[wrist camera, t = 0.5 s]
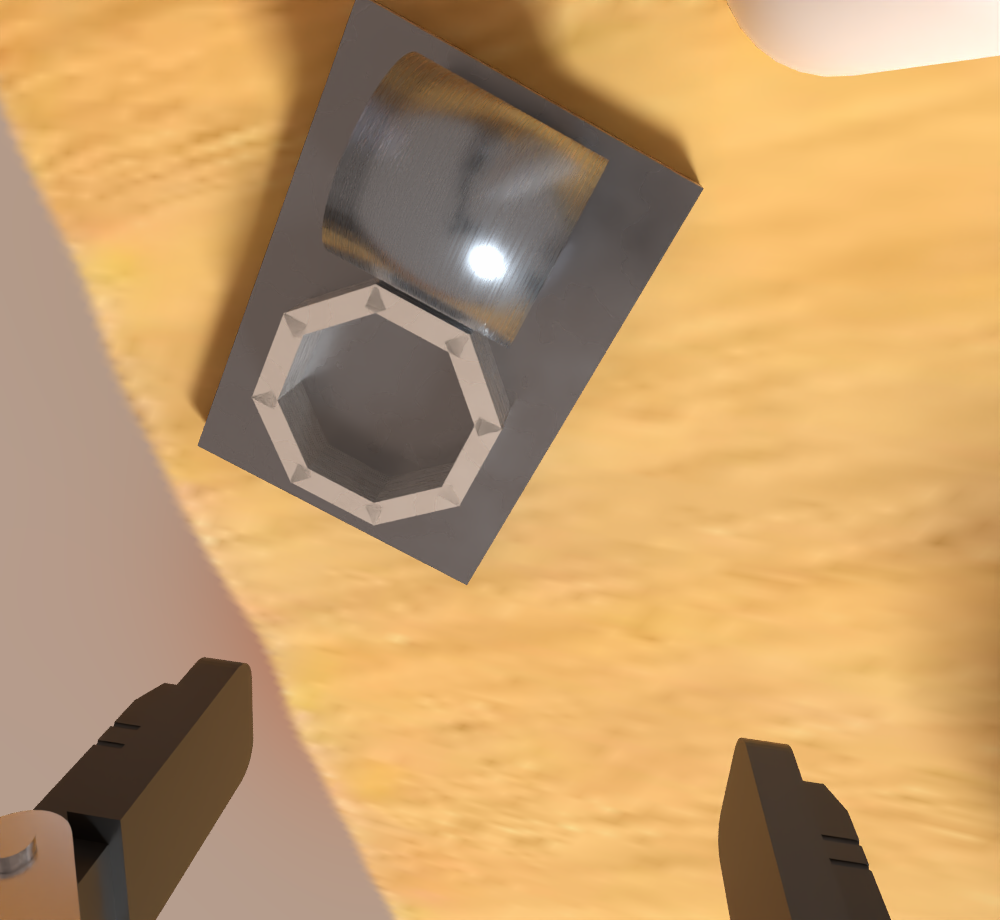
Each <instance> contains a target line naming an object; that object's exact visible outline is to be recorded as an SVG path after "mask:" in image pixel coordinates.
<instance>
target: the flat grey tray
mask: <svg viewBox="0 0 1000 920" xmlns="http://www.w3.org/2000/svg"><path fill="white" fill-rule="evenodd" d="M703 189H704V188H703V187H702V186H701V185H700V184H698V183H696V182H695V181H693V180H691V179H689V178H688V177H686V176H684V175H682V174H680V173H679V172H677V171H675V170H673V169H672V168H670V167H668V166H666V165H664V164H663V163H661V162H659V161H657V160H656V159H654V158H652V157H650V156H649V155H647V154H645V153H643V152H641V151H640V150H638V149H636V148H634V147H633V146H631V145H629V144H627V143H625V142H624V141H622V140H620V139H618V138H617V137H615V136H613V135H611V134H610V133H608V132H606V131H604V130H602V129H601V128H599V127H597V126H595V125H594V124H592V123H590V122H588V121H587V120H585V119H583V118H581V117H579V116H578V115H576V114H574V113H572V112H571V111H569V110H567V109H565V108H563V107H562V106H560V105H558V104H556V103H555V102H553V101H551V100H549V99H548V98H546V97H544V96H542V95H540V94H539V93H537V92H535V91H533V90H532V89H530V88H528V87H526V86H524V85H523V84H521V83H519V82H517V81H516V80H514V79H512V78H510V77H509V76H507V75H505V74H503V73H501V72H500V71H498V70H496V69H494V68H493V67H491V66H489V65H487V64H485V63H484V62H482V61H480V60H478V59H477V58H475V57H473V56H471V55H470V54H468V53H466V52H464V51H462V50H461V49H459V48H457V47H455V46H454V45H452V44H450V43H448V42H447V41H445V40H443V39H441V38H439V37H438V36H436V35H434V34H432V33H431V32H429V31H427V30H425V29H423V28H422V27H420V26H418V25H416V24H415V23H413V22H411V21H409V20H408V19H406V18H404V17H402V16H400V15H399V14H397V13H395V12H393V11H392V10H390V9H388V8H386V7H384V6H383V5H381V4H379V3H377V2H376V1H374V0H355V3H354V6H353V9H352V12H351V14H350V17H349V20H348V23H347V26H346V28H345V31H344V34H343V37H342V40H341V43H340V45H339V48H338V51H337V54H336V57H335V60H334V62H333V65H332V68H331V71H330V74H329V76H328V79H327V82H326V85H325V88H324V91H323V93H322V96H321V99H320V102H319V105H318V107H317V110H316V113H315V116H314V119H313V122H312V124H311V127H310V130H309V133H308V136H307V138H306V141H305V144H304V147H303V150H302V153H301V155H300V158H299V161H298V164H297V167H296V170H295V172H294V175H293V178H292V181H291V184H290V186H289V189H288V192H287V195H286V198H285V201H284V203H283V206H282V209H281V212H280V215H279V217H278V220H277V223H276V226H275V229H274V232H273V234H272V237H271V240H270V243H269V246H268V248H267V251H266V254H265V257H264V260H263V263H262V265H261V268H260V271H259V274H258V277H257V280H256V282H255V285H254V288H253V291H252V294H251V296H250V299H249V302H248V305H247V308H246V311H245V313H244V316H243V319H242V322H241V325H240V327H239V330H238V333H237V336H236V339H235V342H234V344H233V347H232V350H231V353H230V356H229V358H228V361H227V364H226V367H225V370H224V373H223V375H222V378H221V381H220V384H219V387H218V390H217V392H216V395H215V398H214V401H213V404H212V406H211V409H210V412H209V415H208V418H207V421H206V423H205V426H204V429H203V432H202V435H201V437H200V440H199V443H198V446H199V447H201V448H203V449H205V450H207V451H209V452H211V453H213V454H215V455H217V456H219V457H220V458H222V459H224V460H226V461H228V462H230V463H232V464H234V465H236V466H238V467H240V468H242V469H244V470H246V471H247V472H249V473H251V474H253V475H255V476H257V477H259V478H261V479H263V480H265V481H267V482H269V483H271V484H273V485H274V486H276V487H278V488H280V489H282V490H284V491H286V492H288V493H290V494H292V495H294V496H296V497H298V498H300V499H302V500H303V501H305V502H307V503H309V504H311V505H313V506H315V507H317V508H319V509H321V510H323V511H325V512H327V513H329V514H330V515H332V516H334V517H336V518H338V519H340V520H342V521H344V522H346V523H348V524H350V525H352V526H354V527H356V528H358V529H359V530H361V531H363V532H365V533H367V534H369V535H371V536H373V537H375V538H377V539H379V540H381V541H383V542H385V543H386V544H388V545H390V546H392V547H394V548H396V549H398V550H400V551H402V552H404V553H406V554H408V555H410V556H412V557H413V558H415V559H417V560H419V561H421V562H423V563H425V564H427V565H429V566H431V567H433V568H435V569H437V570H439V571H441V572H442V573H444V574H446V575H448V576H450V577H452V578H454V579H456V580H458V581H460V582H462V583H464V584H466V585H467V584H468V582H469V581H470V579H471V577H472V576H473V574H474V572H475V571H476V569H477V567H478V566H479V564H480V562H481V561H482V559H483V557H484V556H485V554H486V552H487V550H488V549H489V547H490V545H491V544H492V542H493V540H494V539H495V537H496V535H497V534H498V532H499V530H500V529H501V527H502V525H503V524H504V522H505V520H506V519H507V517H508V515H509V514H510V512H511V510H512V509H513V507H514V505H515V504H516V502H517V500H518V499H519V497H520V495H521V494H522V492H523V490H524V488H525V487H526V485H527V483H528V482H529V480H530V478H531V477H532V475H533V473H534V472H535V470H536V468H537V467H538V465H539V463H540V462H541V460H542V458H543V457H544V455H545V453H546V452H547V450H548V448H549V447H550V445H551V443H552V442H553V440H554V438H555V437H556V435H557V433H558V432H559V430H560V428H561V426H562V425H563V423H564V421H565V420H566V418H567V416H568V415H569V413H570V411H571V410H572V408H573V406H574V405H575V403H576V401H577V400H578V398H579V396H580V395H581V393H582V391H583V390H584V388H585V386H586V385H587V383H588V381H589V380H590V378H591V376H592V375H593V373H594V371H595V370H596V368H597V366H598V364H599V363H600V361H601V359H602V358H603V356H604V354H605V353H606V351H607V349H608V348H609V346H610V344H611V343H612V341H613V339H614V338H615V336H616V334H617V333H618V331H619V329H620V328H621V326H622V324H623V323H624V321H625V319H626V318H627V316H628V314H629V313H630V311H631V309H632V308H633V306H634V304H635V302H636V301H637V299H638V297H639V296H640V294H641V292H642V291H643V289H644V287H645V286H646V284H647V282H648V281H649V279H650V277H651V276H652V274H653V272H654V271H655V269H656V267H657V266H658V264H659V262H660V261H661V259H662V257H663V256H664V254H665V252H666V251H667V249H668V247H669V246H670V244H671V242H672V240H673V239H674V237H675V235H676V234H677V232H678V230H679V229H680V227H681V225H682V224H683V222H684V220H685V219H686V217H687V215H688V214H689V212H690V210H691V209H692V207H693V205H694V204H695V202H696V200H697V199H698V197H699V195H700V194H701V192H702V190H703Z"/></svg>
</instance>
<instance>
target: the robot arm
mask: <svg viewBox="0 0 1000 920" xmlns="http://www.w3.org/2000/svg"><path fill="white" fill-rule="evenodd" d="M252 716H253V714H252V676H251V669H250V667H249V665H248V664H246V663H240V662H232V661H226V660H219V659H213V658H206V657H204V658H201V659H200V660H198V661H197V663H196V664H195V665H194V666H193V667H192V668H191V669H190V670H189V672H188V673H187V674H186V675H185V676H184V677H183V679H182V680H181V681H180V682H179V683H178V684H177V685H174V684H167V683H164V684H162V685H160V686H159V687H157V688H155V689H153V690H152V691H150V692H148V693H146V694H145V695H143V696H141V697H140V698H138V699H136V700H135V701H134V702H133V703H132V704H131V705H130V706H129V707H128V708H127V709H126V710H125V711H124V712H123V713H122V715H121V716H120V717H119V718H118V719H117V720H116V721H115V724H114V726H113V727H112V726H110V728H109V729H108V730H107V731H106V732H105V733H104V734H103V735H102V736H101V737H100V738H99V739H98V743H97V745H93V746H92V747H91V748H90V749H89V750H88V751H87V752H86V753H85V754H84V756H83V757H82V758H81V759H80V760H79V761H78V762H77V763H76V764H75V765H74V766H73V767H72V769H70V771H69V772H68V773H67V774H66V775H65V776H64V777H63V778H62V779H61V780H60V781H59V783H58V784H57V785H56V786H55V787H54V788H53V789H52V790H51V791H50V792H49V793H48V794H47V795H46V796H45V797H44V799H43V800H42V801H41V802H40V803H39V804H38V805H37V806H36V807H35V808H34V809H33V810H29V811H20V812H16V813H11V814H8V815H5V816H2V817H0V920H156V918H157V917H158V915H159V913H160V912H161V910H162V909H163V907H164V906H165V904H166V902H167V901H168V899H169V897H170V896H171V894H172V893H173V891H174V889H175V888H176V886H177V884H178V883H179V881H180V880H181V878H182V876H183V875H184V873H185V871H186V870H187V868H188V867H189V865H190V863H191V862H192V860H193V859H194V857H195V855H196V854H197V852H198V851H199V849H200V847H201V846H202V844H203V842H204V841H205V839H206V837H207V836H208V834H209V833H210V831H211V830H212V828H213V826H214V824H215V823H216V821H217V820H218V818H219V816H220V815H221V813H222V812H223V810H224V809H225V807H226V805H227V804H228V802H229V800H230V799H231V797H232V796H233V794H234V792H235V791H236V789H237V787H238V786H239V784H240V783H241V781H242V779H243V777H244V775H245V773H246V770H247V768H248V765H249V761H250V757H251V753H252V747H253V717H252ZM718 845H719V858H720V864H721V869H722V875H723V881H724V886H725V892H726V898H727V903H728V909H729V915H730V920H891V919H890V916H889V914H888V911H887V909H886V906H885V904H884V901H883V899H882V896H881V894H880V891H879V889H878V886H877V884H876V881H875V879H874V876H873V874H872V871H870V870H869V864H868V861H867V859H866V856H865V854H864V851H863V849H862V846H859V839H858V836H857V834H856V831H855V829H854V826H853V824H852V821H851V819H850V816H849V814H848V811H847V810H846V809H845V808H844V807H843V806H842V804H841V803H840V802H839V801H838V800H837V799H836V798H835V796H834V795H833V794H832V793H831V792H830V791H829V790H828V789H827V787H826V786H825V785H824V784H819V783H813V782H806V781H803V780H802V777H801V774H800V771H799V769H798V766H797V763H796V760H795V757H794V754H793V751H792V749H791V747H790V746H789V745H787V744H780V743H773V742H767V741H760V740H753V739H746V738H739V740H738V741H737V744H736V746H735V750H734V755H733V759H732V764H731V769H730V773H729V778H728V782H727V787H726V791H725V796H724V801H723V805H722V810H721V815H720V821H719V835H718Z"/></svg>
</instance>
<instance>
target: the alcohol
mask: <svg viewBox="0 0 1000 920" xmlns="http://www.w3.org/2000/svg"><path fill="white" fill-rule="evenodd" d="M727 4H728V6H729V8H730V9H731V11H732V13H733V15H734V17H735V19H736V21H737V23H738V24H739V26H740V28H741V29H742V30H743V31H744V33H745V34H746V35H747V36H748V37H749V39H750V40H751V41H752V42H753V43H754V44H755V46H756V47H757V48H759V49H760V50H761V51H763V52H764V53H765V54H767V55H768V56H770V57H771V58H772V59H774V60H775V61H776V62H778V63H780V64H783V65H785V66H787V67H790V68H792V69H794V70H797V71H799V72H803V73H809V74H814V75H819V76H825V77H826V76H853V75H860V74H868V73H875V72H882V71H890V70H897V69H904V68H911V67H919V66H926V65H933V64H941V63H948V62H955V61H962V60H970V59H977V58H984V57H992V56H999V55H1000V0H727Z"/></svg>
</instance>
